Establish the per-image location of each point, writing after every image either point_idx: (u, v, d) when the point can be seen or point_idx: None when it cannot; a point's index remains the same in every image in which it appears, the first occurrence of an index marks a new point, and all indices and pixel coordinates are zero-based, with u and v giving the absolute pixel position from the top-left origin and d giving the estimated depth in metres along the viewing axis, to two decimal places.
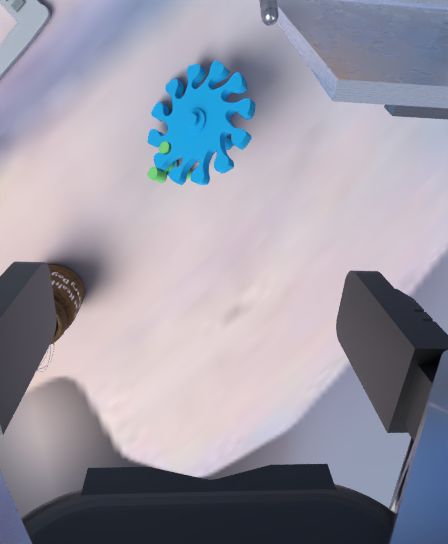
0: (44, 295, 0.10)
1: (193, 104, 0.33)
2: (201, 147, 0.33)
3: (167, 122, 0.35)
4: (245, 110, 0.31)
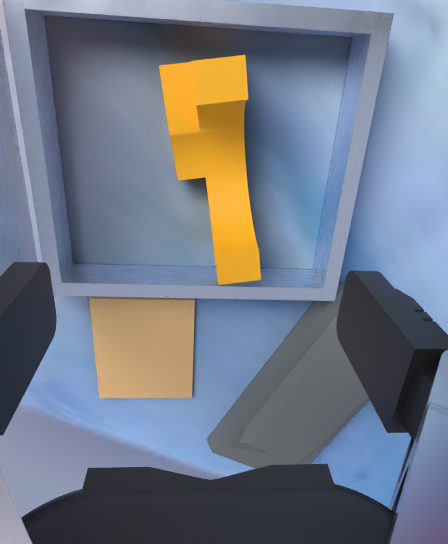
0: (44, 295, 0.10)
1: None
2: None
3: None
4: None
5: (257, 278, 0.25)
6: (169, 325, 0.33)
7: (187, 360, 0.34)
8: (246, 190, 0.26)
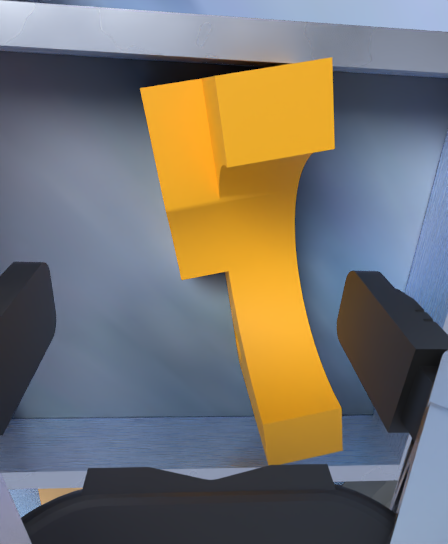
0: (44, 295, 0.10)
1: None
2: None
3: None
4: None
5: (336, 449, 0.14)
6: None
7: None
8: (297, 287, 0.15)
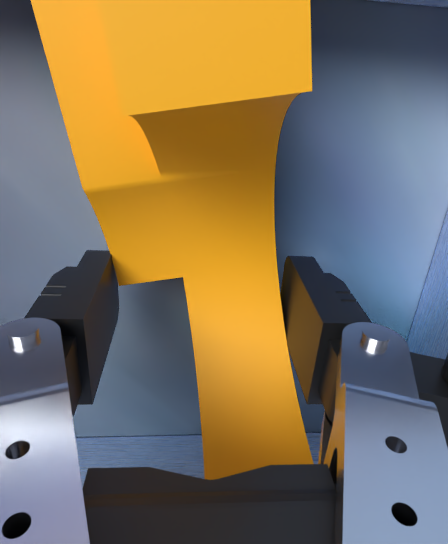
0: (113, 281, 0.11)
1: None
2: None
3: None
4: None
5: None
6: None
7: None
8: (276, 302, 0.11)
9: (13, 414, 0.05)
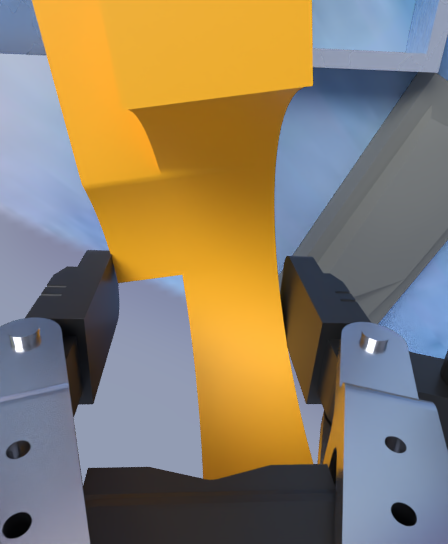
0: (113, 281, 0.11)
1: None
2: None
3: None
4: None
5: None
6: None
7: None
8: (276, 300, 0.11)
9: (13, 414, 0.05)
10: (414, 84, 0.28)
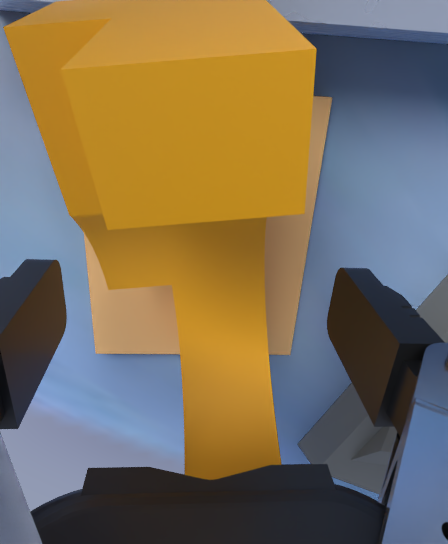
0: (55, 292, 0.10)
1: None
2: None
3: None
4: None
5: None
6: None
7: (292, 265, 0.15)
8: (261, 311, 0.12)
9: None
10: None
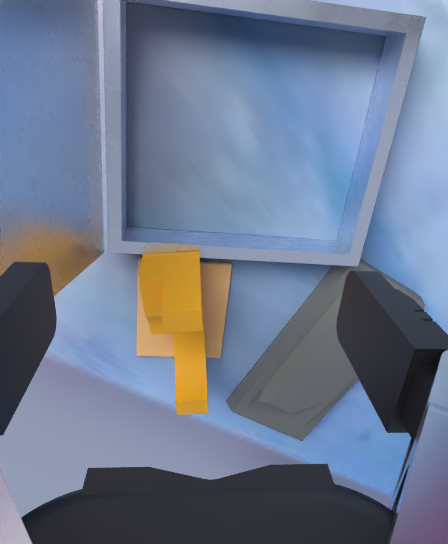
0: (44, 295, 0.10)
1: None
2: None
3: None
4: None
5: (205, 412, 0.34)
6: (207, 287, 0.36)
7: (219, 321, 0.38)
8: (203, 342, 0.34)
9: None
10: None
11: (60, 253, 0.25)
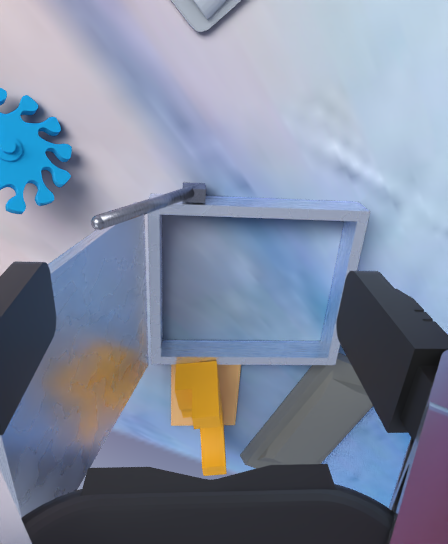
0: (44, 295, 0.10)
1: (29, 148, 0.33)
2: None
3: (12, 114, 0.32)
4: (12, 206, 0.32)
5: (224, 473, 0.46)
6: (223, 377, 0.48)
7: (233, 400, 0.50)
8: (221, 422, 0.46)
9: None
10: None
11: (124, 385, 0.37)
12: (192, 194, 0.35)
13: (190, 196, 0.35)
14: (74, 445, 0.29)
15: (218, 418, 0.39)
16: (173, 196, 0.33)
